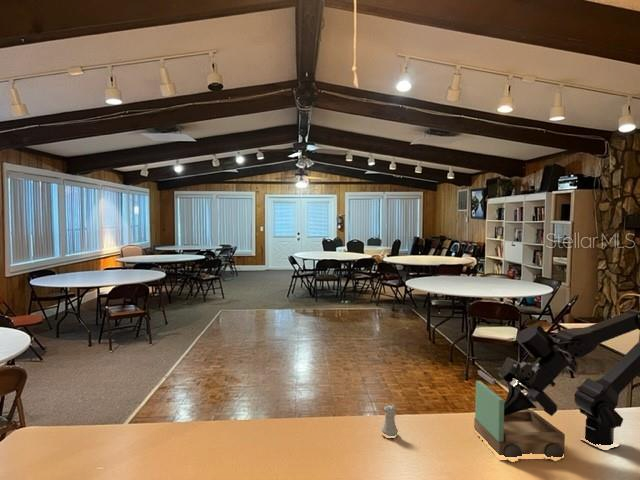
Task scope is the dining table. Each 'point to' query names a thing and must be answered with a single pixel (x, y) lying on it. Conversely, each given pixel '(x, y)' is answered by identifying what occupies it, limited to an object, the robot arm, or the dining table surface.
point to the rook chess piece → (389, 421)
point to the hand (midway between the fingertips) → (502, 413)
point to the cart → (525, 436)
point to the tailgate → (489, 408)
